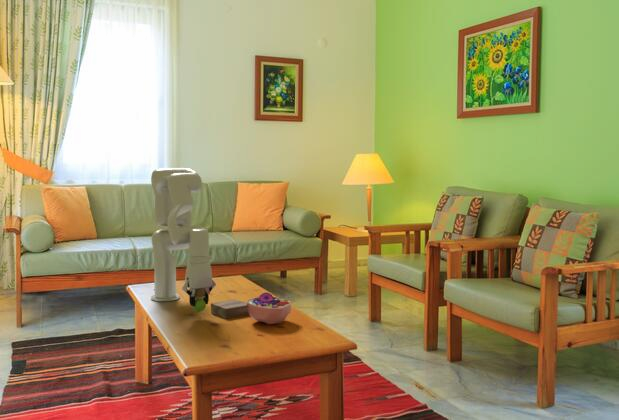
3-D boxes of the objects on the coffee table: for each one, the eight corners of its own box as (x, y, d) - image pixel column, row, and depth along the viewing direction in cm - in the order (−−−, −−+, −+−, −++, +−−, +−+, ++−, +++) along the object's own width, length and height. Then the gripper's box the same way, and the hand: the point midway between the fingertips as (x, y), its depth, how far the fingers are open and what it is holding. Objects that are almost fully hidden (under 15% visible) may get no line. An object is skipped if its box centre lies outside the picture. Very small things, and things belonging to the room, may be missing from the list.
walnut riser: (210, 312, 261) (210, 303, 261) (235, 308, 268) (235, 299, 268) (226, 318, 252) (226, 308, 251) (251, 314, 259) (251, 304, 259)
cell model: (256, 331, 234) (256, 301, 233) (241, 318, 253) (241, 290, 252) (298, 327, 240) (298, 297, 239) (281, 314, 259) (281, 287, 258)
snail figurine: (190, 310, 254) (190, 280, 252) (206, 310, 254) (206, 280, 253) (188, 313, 248) (188, 284, 247) (205, 313, 249) (205, 284, 247)
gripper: (213, 256, 257) (213, 299, 259) (175, 260, 247) (175, 305, 249) (222, 259, 251) (222, 303, 253) (184, 263, 241) (184, 309, 243)
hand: (199, 304), depth 251 cm, fingers closed on snail figurine, 5 cm apart
